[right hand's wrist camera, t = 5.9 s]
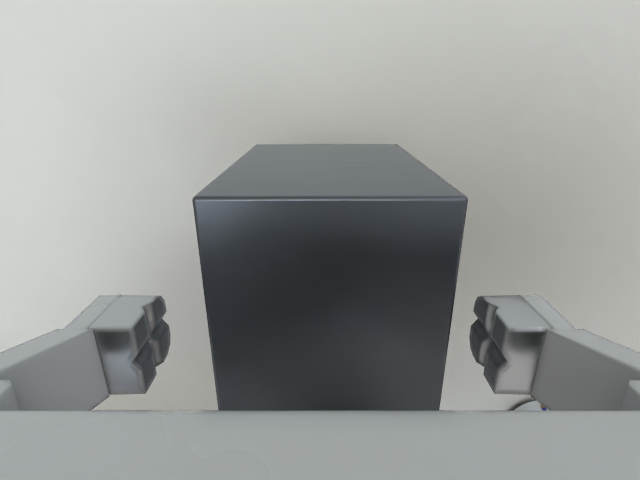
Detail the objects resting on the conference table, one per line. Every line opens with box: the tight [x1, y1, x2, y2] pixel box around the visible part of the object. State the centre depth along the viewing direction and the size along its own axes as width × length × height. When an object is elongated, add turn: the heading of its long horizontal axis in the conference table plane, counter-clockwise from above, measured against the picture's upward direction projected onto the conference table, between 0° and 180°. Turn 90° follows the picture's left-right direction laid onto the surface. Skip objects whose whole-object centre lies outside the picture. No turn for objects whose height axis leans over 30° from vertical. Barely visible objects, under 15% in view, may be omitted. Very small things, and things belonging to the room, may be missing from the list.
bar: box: [193, 144, 468, 411], centre depth 17 cm, size 26×6×9 cm, turn 0°
